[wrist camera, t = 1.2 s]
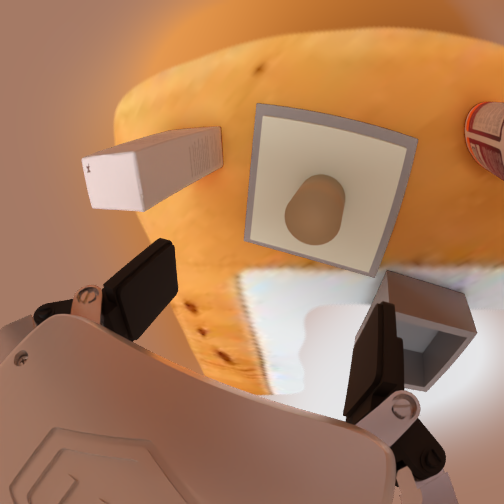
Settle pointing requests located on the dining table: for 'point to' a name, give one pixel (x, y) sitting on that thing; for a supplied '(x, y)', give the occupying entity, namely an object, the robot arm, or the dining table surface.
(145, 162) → the skincare box
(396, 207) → the mat
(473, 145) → the pill bottle
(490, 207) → the dining table surface
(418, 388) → the open grey box
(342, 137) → the lid
